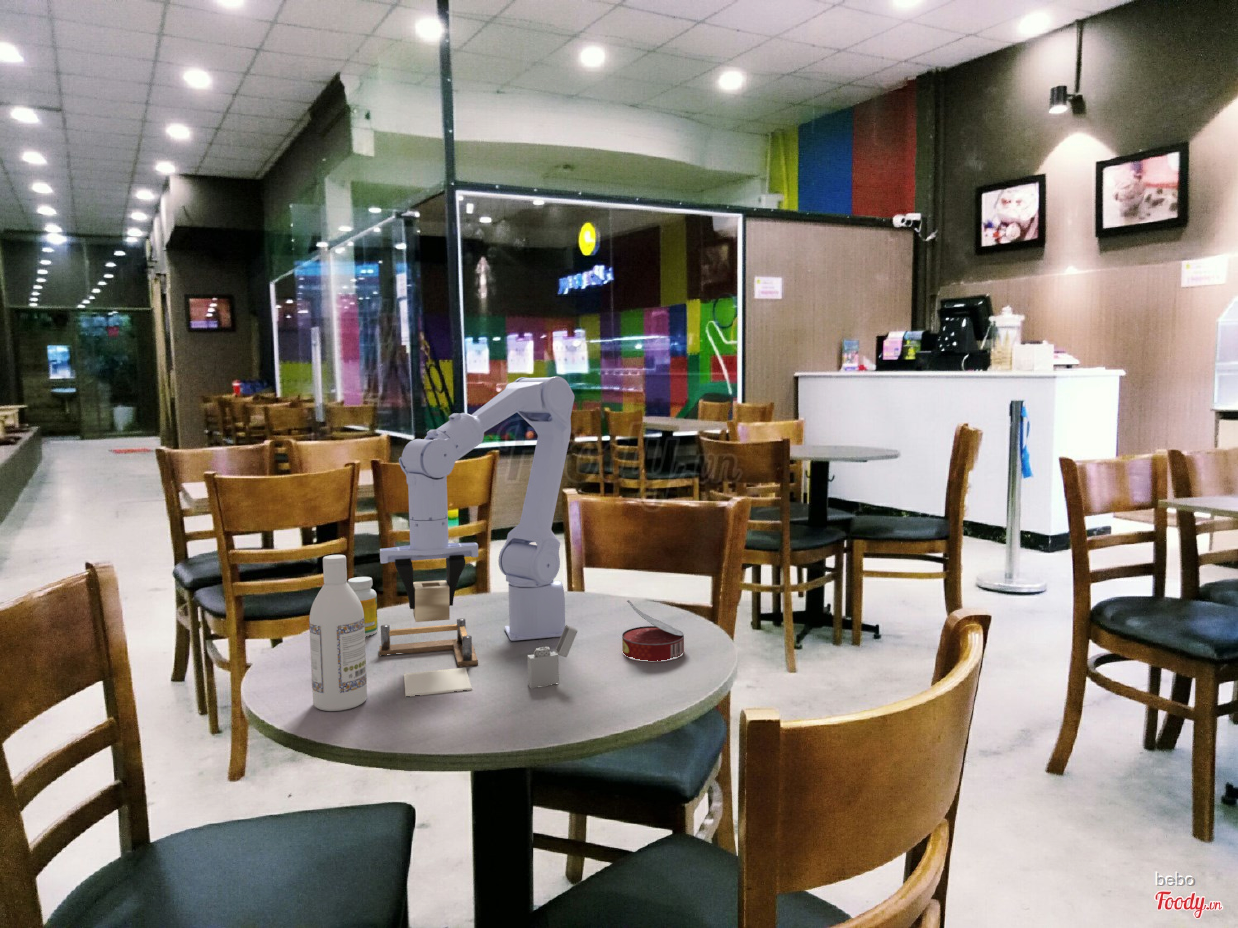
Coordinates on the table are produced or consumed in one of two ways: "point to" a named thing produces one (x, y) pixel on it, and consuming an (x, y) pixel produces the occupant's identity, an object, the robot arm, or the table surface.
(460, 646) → the wooden rail
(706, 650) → the table surface
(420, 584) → the hollow wooden cube
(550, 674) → the lighter
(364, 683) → the bath foam
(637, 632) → the canned food
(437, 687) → the coaster
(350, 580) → the supplement bottle
